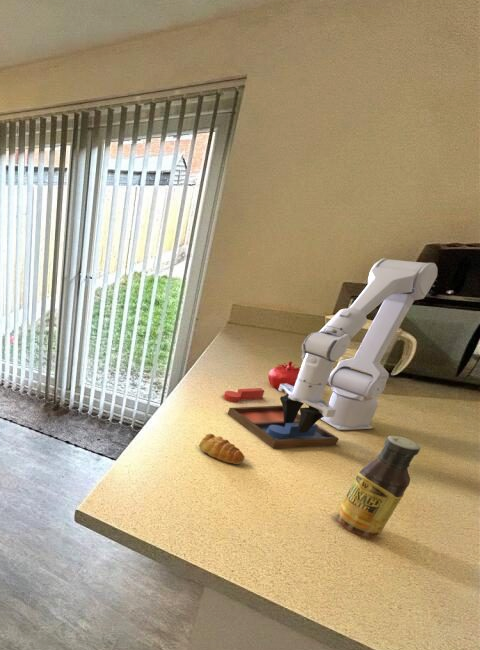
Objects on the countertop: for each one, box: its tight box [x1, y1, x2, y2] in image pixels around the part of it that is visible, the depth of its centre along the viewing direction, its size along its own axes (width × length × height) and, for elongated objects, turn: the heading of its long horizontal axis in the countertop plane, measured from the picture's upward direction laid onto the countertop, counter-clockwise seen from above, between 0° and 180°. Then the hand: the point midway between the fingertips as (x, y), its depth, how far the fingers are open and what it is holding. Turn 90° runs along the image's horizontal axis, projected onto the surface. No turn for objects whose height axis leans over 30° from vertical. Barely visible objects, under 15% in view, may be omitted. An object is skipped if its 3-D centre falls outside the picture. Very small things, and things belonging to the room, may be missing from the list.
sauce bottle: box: [336, 435, 421, 538], centre depth 71 cm, size 7×6×20 cm
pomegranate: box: [267, 360, 301, 390], centre depth 128 cm, size 10×10×9 cm
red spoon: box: [223, 387, 265, 403], centre depth 123 cm, size 12×4×3 cm, turn 93°
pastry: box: [198, 433, 246, 465], centre depth 96 cm, size 9×7×4 cm
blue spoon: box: [267, 423, 319, 439], centre depth 102 cm, size 12×4×3 cm, turn 93°
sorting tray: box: [227, 404, 340, 449], centre depth 107 cm, size 17×17×2 cm
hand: (295, 427), depth 102 cm, fingers open, 4 cm apart
